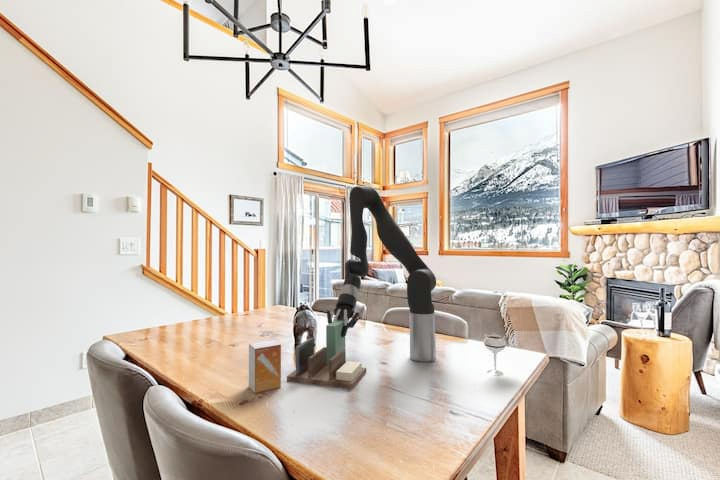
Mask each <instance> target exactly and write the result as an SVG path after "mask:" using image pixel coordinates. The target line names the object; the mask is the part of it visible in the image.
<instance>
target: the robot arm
mask: <svg viewBox="0 0 720 480" xmlns="http://www.w3.org/2000/svg"><path fill="white" fill-rule="evenodd" d="M348 198H349V200H348V201H349V214H350V227H351V229H350V230H351V237H350V250H349V253H350V254H351V256H354V257H355V258H358V259H353V258H350V259H348V260H346V262H345V263H344V273H345V274H344V275H345V276H344V281H343V284H342V287H341V289H340V292H339V295H338V298H337V302H336V305H335V308H334V309H333V310H331V311H330V310H326V316H327V317H326V318H327V325H328V324H330V323H332V322H334V321H336V320H344V326H343V328H342V332H341V336H342V337H344V336H345V337H346V336H347V332H348V330H349V329H353V328H354V327H355V325H356V324H357V323H358V321H359V319H360V318H361V315H360V313H359V312H358V311H357V312H355V310H356V305H357V301H358V299H359V292H360V288H361V285H362V280H361V278H365V277H366V276H367V275H368V274H369V270H370V269H369V263H368V256H367V248H368V233H367V230H366V227H365V223H364V220H363V214H364V209H368V211H369V212H370V213H371V215H372V217H373V218H374V220H375V224H376V234H377V235H378V236H377V237H378V238H379V240H380V241H381V243H382V245H383V247H384V248H385V249H386V250H387V251H388V253H390V255H391V256H392V257H394V258H395V259H396V260H397V261H398V262H399V263H401V264H402V266H403V267H404V268H405V270H406V271H407V273H408V276H407V278H406V279H407V280H406V294H407V295H406V296H407V297H406V298H407V305H408V309H409V358H410V359H411V360H413V361H416V362H421V363H422V362H423V363H426V362H435V360H436V354H437V353H436V352H437V349H436V330H435V329H436V328H435V305H434V304H433V302H432V291H433V290H434V289H435V288H436V286H437V278H436V276H435V274H434V273H433V271H432V270H431V269H430V268H429V267H428V266H427V264H426V263H425V262H424V261H423V260H422V258H420V256H419V255H418V253H417V251H416V250H415V248H414V247H413V245H412V243H411V242H410V241H409V239H408V238H407V236H406V235H405V233H404V231H403V230H402V229H401V227H400V226H399V224H398V223H397V221H396V220H395V218H394V217H393V216H392V214H391V213H390V211H389V210H388V209H387V207H386V206H385V203H384V201H383V199H382V198H381V196H380V195H379V192H378V191H377V189H376V188H374V187H373V186H371V185H358V186H354V187H352V188H351V190H350V192H349V197H348Z"/></svg>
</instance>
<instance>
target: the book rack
mask: <svg viewBox="0 0 720 480" xmlns="http://www.w3.org/2000/svg"><path fill="white" fill-rule="evenodd" d="M346 351H347V350H346V348H345V349H342V350H341V351H340V352H338V353H337V354H336V355H335V356H333V357H332V358H331V359H330V360H329V364H327V353H326V347H325V346H324V347H323V346H322V348H320V349H319V350H317V352H314V354H313V355H312V356H310V357H309V358H308V369H307V370H306V371H305V372H303V373H302V374H301V375H299V376H298V375H296V369H295V370H293V371H292V372H290V373H289V374H288V375H286V382H293V383H300V384H308V385H314V386H315V385H317V386H324V387H331V388H338V389H339V388H341V389H347V390H354V389H355V388H356V386H357V385H358V384H359V382H360V381H361V380H362V379H363V377H365V375H366V374H367V367H362V370H361V371H360V372H359V373H358V375H357V376H356V377H355V378H354V379H353V380H352V381H346V380H337V379H336V371H337V370H338V369H339V368H341V367H342V366H343V365H344V364H345V363H346V362H347V361H346V360H347V359H346V357H347V356H346Z"/></svg>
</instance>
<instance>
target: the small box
mask: <svg viewBox="0 0 720 480" xmlns="http://www.w3.org/2000/svg"><path fill="white" fill-rule="evenodd" d="M281 351H282V344H281V343H280V342H278V341H277V340H275V339H272V340H265V341H258V342H253V343H248V387H249V389H250V390H251V392H253V393H254V394H257V393H261V392H264V391H269V390H270V391H271V390H274V389H278V388H279V389H280V388H281V386H282V385H281V384H282V352H281Z"/></svg>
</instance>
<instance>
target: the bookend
mask: <svg viewBox="0 0 720 480" xmlns="http://www.w3.org/2000/svg"><path fill="white" fill-rule="evenodd" d="M313 354H315V338H314V337H310V338H309V339H307V340H305V341H303V342H301V343H300V344H298V345H297V346H295V370H296V375H298V376H299V375H301V374H302V373H303V372H305V371H306V370H307V369H308V358H309V357H310V356H312V355H313Z"/></svg>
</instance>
